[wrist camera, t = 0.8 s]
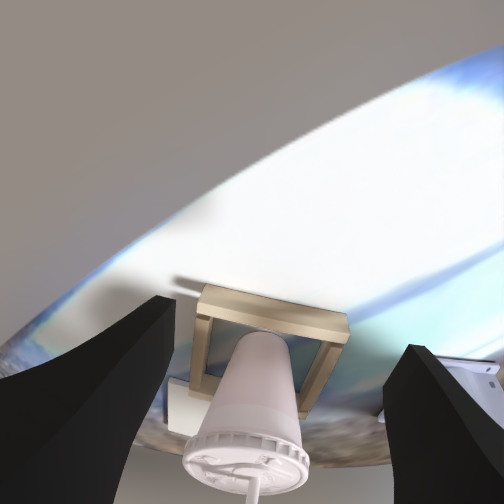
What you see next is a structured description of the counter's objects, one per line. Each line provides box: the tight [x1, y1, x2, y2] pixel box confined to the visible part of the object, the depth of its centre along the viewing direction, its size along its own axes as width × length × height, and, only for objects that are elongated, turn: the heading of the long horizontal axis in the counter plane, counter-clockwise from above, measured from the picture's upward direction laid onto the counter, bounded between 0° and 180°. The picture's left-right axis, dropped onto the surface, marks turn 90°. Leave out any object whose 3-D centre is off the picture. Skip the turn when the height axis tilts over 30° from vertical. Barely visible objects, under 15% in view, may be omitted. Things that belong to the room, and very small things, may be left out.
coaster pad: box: [168, 377, 211, 437], centre depth 25 cm, size 8×8×1 cm
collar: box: [188, 284, 350, 420], centre depth 21 cm, size 9×9×2 cm
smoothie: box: [182, 331, 310, 504], centre depth 15 cm, size 6×6×14 cm
